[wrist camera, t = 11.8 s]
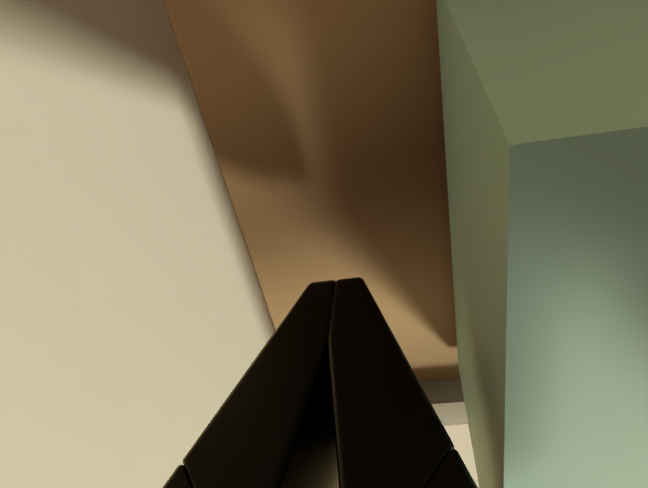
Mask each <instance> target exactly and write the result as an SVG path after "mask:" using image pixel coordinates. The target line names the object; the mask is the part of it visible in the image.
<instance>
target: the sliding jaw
mask: <svg viewBox="0 0 648 488" xmlns="http://www.w3.org/2000/svg"><path fill="white" fill-rule="evenodd" d="M436 4H437V21H438V37H439V54H440V71H441V87H442V104H443V120H444V137H445V154H446V170H447V187H448V203H449V220H450V237H451V253H452V270H453V286H454V303H455V320H456V336H457V353H458V367H459V373H460V379H461V385H462V390H463V396H464V402H465V407H466V413H467V419H468V424H469V430H470V436H471V442H472V447H473V453H474V459H475V464H476V470H477V476H478V481H479V487H480V488H648V0H436Z"/></svg>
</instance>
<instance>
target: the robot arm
mask: <svg viewBox="0 0 648 488" xmlns="http://www.w3.org/2000/svg"><path fill="white" fill-rule="evenodd" d="M183 464H184V465H179V466H178V467H177V469H176V470H175V471H174V473H173V474H172V476H171V477H170V478H169V480H168V481H167V482H166V484H165V485H164V487H163V488H478V487H477V485H476V484H475V482H474V480H473V479H472V477H471V475H470V473H469V472H468V470H467V468H466V466H465V464H464V462H463V461H462V459H461V457H460V455H459V453H458V451H457V450H455V449H454V445H453V443H452V441H451V439H450V437H449V436H448V434H447V432H446V430H445V428H444V426H443V425H442V423H441V421H440V419H439V417H438V415H437V414H436V412H435V410H434V408H433V406H432V404H431V402H430V401H429V399H428V397H427V395H426V393H425V391H424V390H423V388H422V386H421V384H420V382H419V380H418V379H417V377H416V375H415V373H414V371H413V369H412V368H411V366H410V364H409V362H408V360H407V358H406V357H405V355H404V353H403V351H402V349H401V347H400V346H399V344H398V342H397V340H396V338H395V336H394V335H393V333H392V331H391V329H390V327H389V325H388V323H387V322H386V320H385V318H384V316H383V314H382V312H381V311H380V309H379V307H378V305H377V303H376V301H375V300H374V298H373V296H372V294H371V292H370V290H369V289H368V287H367V285H366V283H365V281H364V280H363V279H362V278H360V277H356V278H347V279H339V280H337V281H335V280H328V281H319V282H312V283H310V284H309V285H308V286H307V287H306V289H305V290H304V292H303V293H302V294H301V296H300V297H299V299H298V300H297V301H296V303H295V304H294V306H293V307H292V308H291V310H290V311H289V313H288V314H287V315H286V317H285V318H284V320H283V321H282V322H281V324H280V325H279V327H278V328H277V329H276V331H275V332H274V334H273V335H272V336H271V338H270V339H269V340H268V342H267V343H266V345H265V346H264V347H263V349H262V350H261V352H260V353H259V354H258V356H257V357H256V359H255V360H254V361H253V363H252V364H251V366H250V367H249V368H248V370H247V371H246V373H245V374H244V375H243V377H242V378H241V380H240V381H239V382H238V384H237V385H236V387H235V388H234V389H233V391H232V392H231V394H230V395H229V396H228V398H227V399H226V401H225V402H224V403H223V405H222V406H221V407H220V409H219V410H218V412H217V413H216V414H215V416H214V417H213V419H212V420H211V421H210V423H209V424H208V426H207V427H206V428H205V430H204V431H203V433H202V434H201V435H200V437H199V438H198V440H197V441H196V442H195V444H194V445H193V447H192V448H191V449H190V451H189V452H188V454H187V455H186V456H185V458H184V459H183Z"/></svg>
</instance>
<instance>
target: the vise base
mask: <svg viewBox="0 0 648 488" xmlns="http://www.w3.org/2000/svg"><path fill="white" fill-rule="evenodd" d="M163 1H164V4H165V6H166V9H167V12H168V15H169V18H170V21H171V24H172V27H173V30H174V33H175V36H176V39H177V42H178V45H179V48H180V51H181V53H182V56H183V59H184V62H185V65H186V68H187V71H188V74H189V77H190V80H191V83H192V86H193V89H194V92H195V95H196V98H197V100H198V103H199V106H200V109H201V112H202V115H203V118H204V121H205V124H206V127H207V130H208V133H209V136H210V139H211V142H212V145H213V147H214V150H215V153H216V156H217V159H218V162H219V165H220V168H221V171H222V174H223V177H224V180H225V183H226V186H227V189H228V192H229V195H230V197H231V200H232V203H233V206H234V209H235V212H236V215H237V218H238V221H239V224H240V227H241V230H242V233H243V236H244V239H245V242H246V244H247V247H248V250H249V253H250V256H251V259H252V262H253V265H254V268H255V271H256V274H257V277H258V280H259V283H260V286H261V289H262V291H263V294H264V297H265V300H266V303H267V306H268V309H269V312H270V315H271V318H272V321H273V324H274V327H275V330H276V329H277V328H278V327H279V325H280V324H281V322H282V321H283V320H284V318H285V317H286V315H287V314H288V313H289V311H290V310H291V308H292V307H293V306H294V304H295V303H296V301H297V300H298V299H299V297H300V296H301V294H302V293H303V292H304V290H305V289H306V287H307V286H308V285H309V284H310V283H312V282H319V281H328V280H335V281H337V280H339V279H347V278H356V277H360V278H362V279H363V280H364V281H365V283H366V285H367V287H368V289H369V290H370V292H371V294H372V296H373V298H374V300H375V301H376V303H377V305H378V307H379V309H380V311H381V312H382V314H383V316H384V318H385V320H386V322H387V323H388V325H389V327H390V329H391V331H392V333H393V335H394V336H395V338H396V340H397V342H398V344H399V346H400V347H401V349H402V351H403V353H404V355H405V357H406V358H407V360H408V362H409V364H410V366H411V368H412V369H413V371H414V373H415V375H416V377H417V379H418V380H419V382H420V384H421V386H422V388H423V390H424V391H425V393H426V395H427V397H428V399H429V401H430V402H431V404H432V406H433V408H434V410H435V412H436V414H437V415H438V417H439V419H440V421H441V423H442V425H459V424H468V419H467V413H466V407H465V402H464V396H463V390H462V385H461V379H460V373H459V367H458V353H457V336H456V320H455V303H454V286H453V270H452V253H451V237H450V220H449V203H448V187H447V170H446V154H445V137H444V120H443V104H442V87H441V71H440V54H439V37H438V21H437V4H436V0H163Z"/></svg>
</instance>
